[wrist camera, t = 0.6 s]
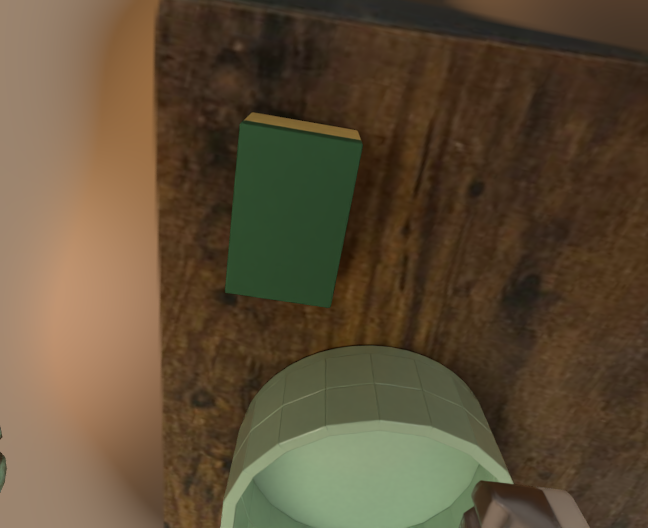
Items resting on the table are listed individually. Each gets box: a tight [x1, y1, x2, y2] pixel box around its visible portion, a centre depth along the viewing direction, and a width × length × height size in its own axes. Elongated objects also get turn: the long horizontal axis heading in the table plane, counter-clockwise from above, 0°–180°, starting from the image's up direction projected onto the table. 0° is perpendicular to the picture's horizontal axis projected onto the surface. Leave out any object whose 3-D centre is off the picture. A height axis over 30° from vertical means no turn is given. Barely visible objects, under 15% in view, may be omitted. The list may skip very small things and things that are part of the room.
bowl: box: [220, 345, 515, 528], centre depth 25 cm, size 14×14×6 cm
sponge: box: [225, 112, 363, 308], centre depth 20 cm, size 7×4×3 cm, turn 170°
